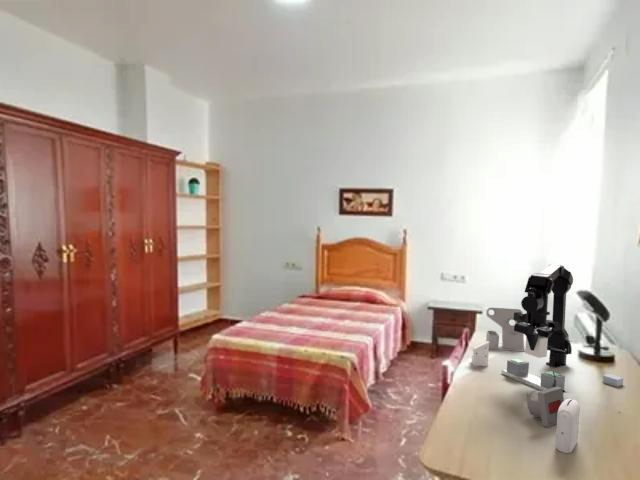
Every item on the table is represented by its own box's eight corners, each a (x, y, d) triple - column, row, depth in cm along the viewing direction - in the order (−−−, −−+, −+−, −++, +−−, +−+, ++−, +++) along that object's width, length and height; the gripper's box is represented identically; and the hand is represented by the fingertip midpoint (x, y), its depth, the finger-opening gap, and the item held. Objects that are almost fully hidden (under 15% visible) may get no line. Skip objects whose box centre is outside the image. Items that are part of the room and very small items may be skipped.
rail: (514, 371, 180) (514, 355, 179) (564, 391, 160) (565, 374, 160) (501, 373, 177) (502, 358, 176) (551, 394, 157) (552, 377, 156)
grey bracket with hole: (488, 348, 209) (490, 311, 208) (484, 342, 219) (486, 306, 218) (527, 352, 206) (530, 313, 205) (522, 345, 216) (524, 309, 215)
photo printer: (571, 455, 117) (574, 409, 116) (553, 449, 120) (556, 404, 119) (579, 441, 125) (582, 397, 124) (562, 435, 128) (564, 393, 127)
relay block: (616, 390, 163) (622, 388, 165) (617, 379, 163) (623, 378, 165) (602, 385, 167) (608, 384, 169) (603, 375, 167) (608, 373, 169)
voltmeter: (569, 432, 130) (571, 399, 129) (525, 424, 134) (527, 392, 134) (561, 399, 154) (563, 370, 153) (525, 392, 158) (526, 365, 158)
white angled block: (499, 360, 185) (489, 342, 185) (476, 371, 186) (467, 352, 186) (496, 357, 188) (486, 339, 188) (474, 368, 190) (465, 350, 190)
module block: (532, 351, 170) (533, 333, 170) (546, 356, 165) (547, 337, 164) (525, 353, 168) (526, 334, 168) (539, 357, 163) (540, 338, 163)
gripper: (537, 302, 177) (534, 341, 178) (503, 305, 169) (500, 346, 170) (563, 308, 167) (560, 349, 168) (528, 311, 159) (525, 354, 160)
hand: (536, 349), depth 167 cm, fingers closed on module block, 4 cm apart
